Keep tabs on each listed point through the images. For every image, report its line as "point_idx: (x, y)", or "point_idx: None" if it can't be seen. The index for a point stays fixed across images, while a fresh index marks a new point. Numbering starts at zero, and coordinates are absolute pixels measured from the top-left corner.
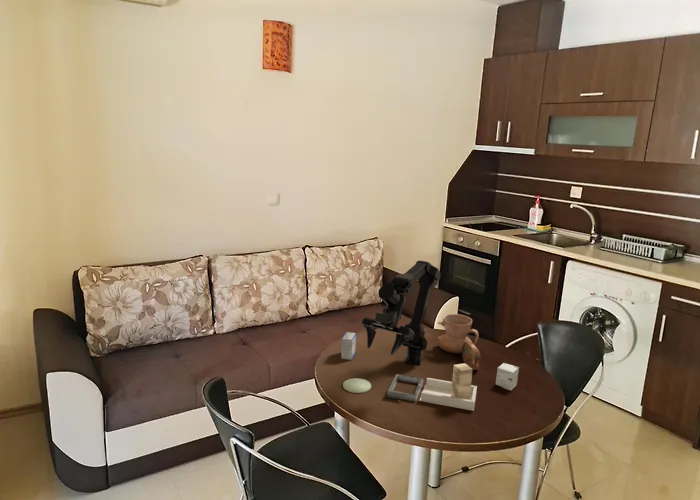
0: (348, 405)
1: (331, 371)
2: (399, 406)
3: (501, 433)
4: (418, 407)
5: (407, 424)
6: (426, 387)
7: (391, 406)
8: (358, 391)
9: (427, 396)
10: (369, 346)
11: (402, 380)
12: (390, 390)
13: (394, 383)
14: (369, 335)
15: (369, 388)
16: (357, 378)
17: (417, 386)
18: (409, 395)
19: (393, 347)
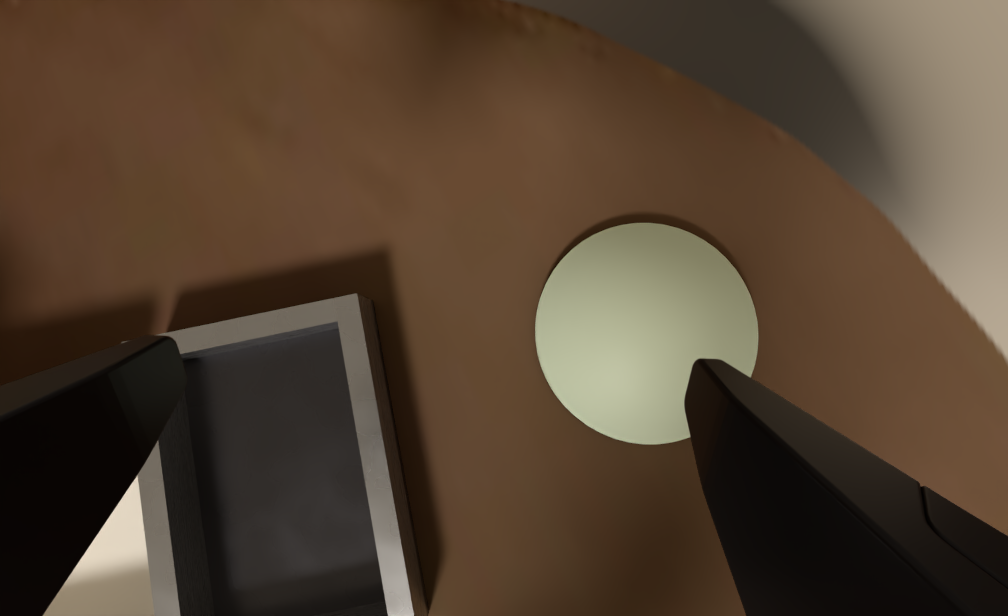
0: (553, 62)
1: (956, 445)
2: (249, 237)
3: None
4: (127, 297)
5: (127, 66)
6: (146, 611)
7: (297, 207)
8: (583, 242)
9: None
10: (701, 405)
11: (360, 608)
12: (338, 314)
13: (361, 453)
14: (941, 551)
15: (535, 330)
16: None
17: (164, 510)
18: (179, 330)
19: (14, 397)
